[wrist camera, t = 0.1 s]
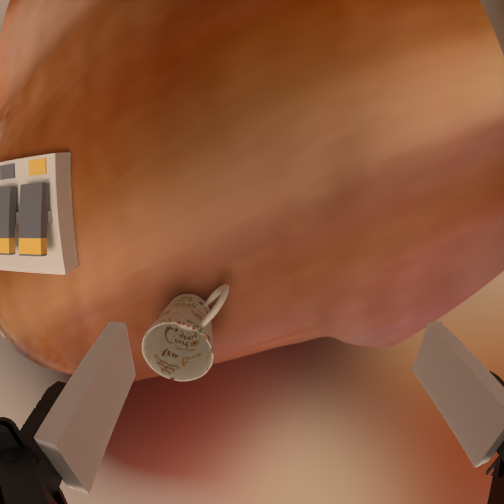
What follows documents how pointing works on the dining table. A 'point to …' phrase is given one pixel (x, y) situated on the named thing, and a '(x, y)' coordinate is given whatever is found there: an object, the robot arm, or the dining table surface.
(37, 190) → the rocker
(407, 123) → the dining table surface
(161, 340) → the mug
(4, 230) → the rocker
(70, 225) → the switch unit
